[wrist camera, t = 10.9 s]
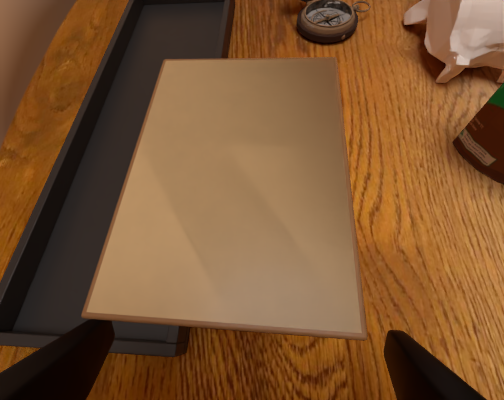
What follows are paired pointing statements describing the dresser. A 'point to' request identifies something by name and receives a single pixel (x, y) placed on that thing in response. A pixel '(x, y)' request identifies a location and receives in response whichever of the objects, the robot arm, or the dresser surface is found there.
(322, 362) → the dresser surface
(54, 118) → the dresser surface
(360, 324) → the packet
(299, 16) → the compass
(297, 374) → the dresser surface
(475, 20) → the white bird figurine
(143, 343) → the tray
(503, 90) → the food container
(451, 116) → the dresser surface
